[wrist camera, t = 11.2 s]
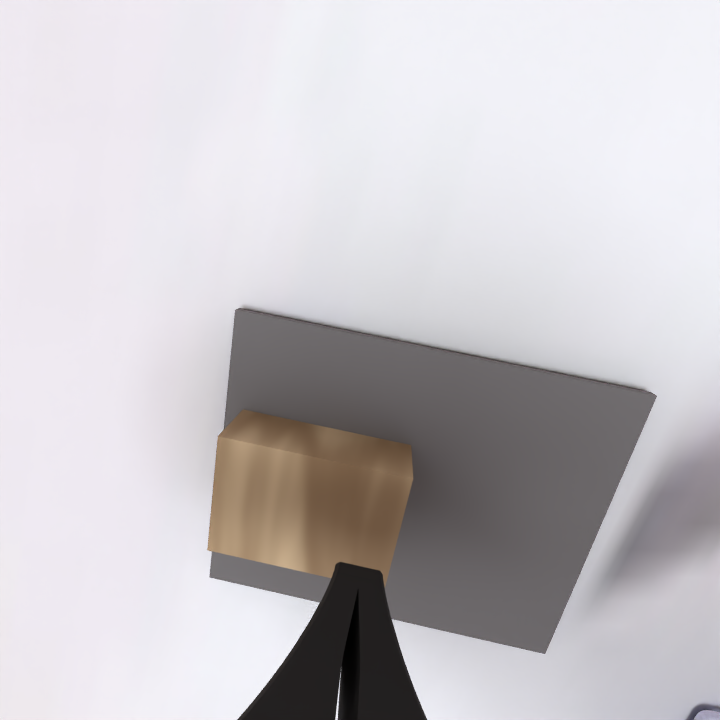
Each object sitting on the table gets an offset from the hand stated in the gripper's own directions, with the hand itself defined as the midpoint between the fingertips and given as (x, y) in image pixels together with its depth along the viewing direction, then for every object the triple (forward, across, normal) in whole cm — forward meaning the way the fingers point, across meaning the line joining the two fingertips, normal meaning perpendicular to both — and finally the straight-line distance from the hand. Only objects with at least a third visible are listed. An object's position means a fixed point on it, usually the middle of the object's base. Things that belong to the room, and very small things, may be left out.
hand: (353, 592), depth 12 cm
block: (+4, -1, 0) cm, 4 cm away
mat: (+6, -2, 0) cm, 6 cm away
